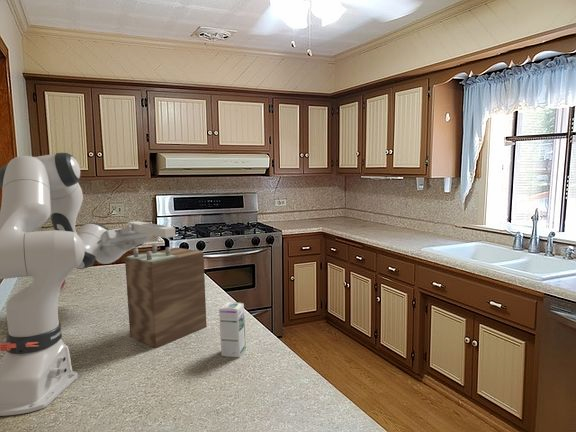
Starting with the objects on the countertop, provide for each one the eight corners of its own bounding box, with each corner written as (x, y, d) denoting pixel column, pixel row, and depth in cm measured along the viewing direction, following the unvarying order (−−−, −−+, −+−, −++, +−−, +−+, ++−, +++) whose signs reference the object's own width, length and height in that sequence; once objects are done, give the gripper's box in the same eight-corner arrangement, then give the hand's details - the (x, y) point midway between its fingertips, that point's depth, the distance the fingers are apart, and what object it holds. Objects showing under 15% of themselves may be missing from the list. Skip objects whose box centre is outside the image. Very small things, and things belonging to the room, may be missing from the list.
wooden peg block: (206, 326, 143) (203, 243, 139) (156, 348, 127) (151, 254, 123) (180, 318, 151) (176, 239, 147) (130, 337, 135) (124, 248, 132)
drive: (175, 236, 142) (175, 227, 141) (165, 238, 139) (165, 228, 138) (137, 229, 155) (137, 220, 155) (128, 230, 152) (127, 222, 152)
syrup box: (240, 358, 120) (238, 309, 118) (220, 356, 121) (218, 307, 119) (246, 349, 125) (244, 302, 123) (227, 347, 126) (225, 301, 125)
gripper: (92, 237, 152) (108, 221, 143) (141, 229, 168) (159, 214, 160) (97, 253, 150) (114, 237, 142) (147, 243, 167) (165, 229, 158)
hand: (138, 225), depth 151 cm, fingers closed on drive, 4 cm apart
